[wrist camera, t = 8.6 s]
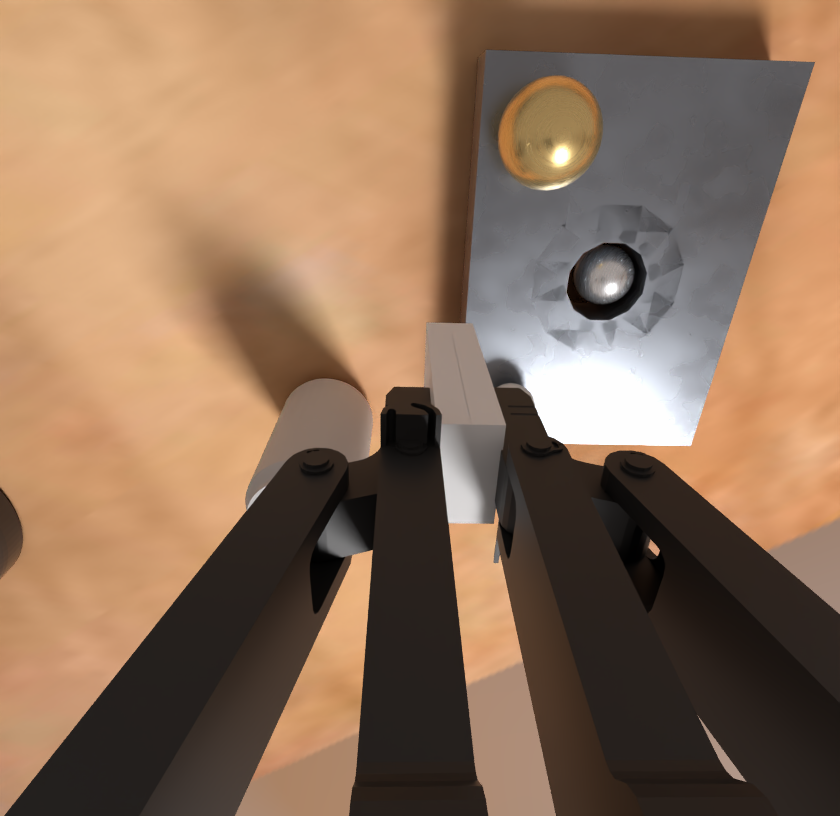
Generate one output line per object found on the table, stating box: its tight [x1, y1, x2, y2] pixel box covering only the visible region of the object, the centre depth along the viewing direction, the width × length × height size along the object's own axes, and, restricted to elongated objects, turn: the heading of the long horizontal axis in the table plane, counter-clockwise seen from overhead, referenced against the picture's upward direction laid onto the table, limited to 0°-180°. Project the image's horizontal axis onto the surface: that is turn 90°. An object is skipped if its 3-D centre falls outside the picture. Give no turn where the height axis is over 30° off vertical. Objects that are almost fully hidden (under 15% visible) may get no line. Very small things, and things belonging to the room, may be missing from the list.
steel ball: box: [574, 245, 634, 304], centre depth 32 cm, size 4×4×4 cm
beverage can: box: [245, 378, 373, 510], centre depth 33 cm, size 6×6×12 cm
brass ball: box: [498, 75, 603, 191], centre depth 25 cm, size 5×5×5 cm
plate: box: [460, 50, 815, 446], centre depth 32 cm, size 16×22×4 cm
